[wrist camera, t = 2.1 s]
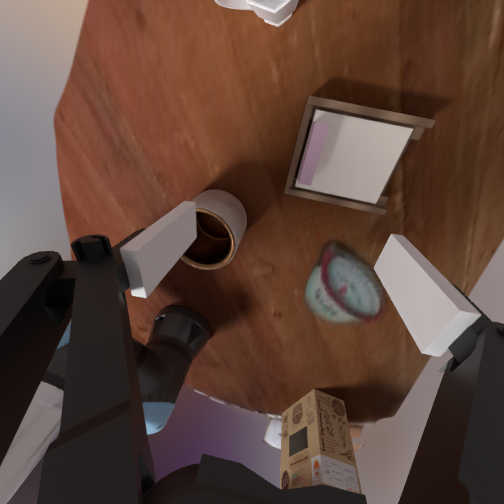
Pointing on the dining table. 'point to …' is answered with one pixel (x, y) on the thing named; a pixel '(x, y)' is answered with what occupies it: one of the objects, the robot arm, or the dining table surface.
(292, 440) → the box
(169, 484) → the robot arm
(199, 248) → the planter
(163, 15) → the dining table surface
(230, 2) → the cup
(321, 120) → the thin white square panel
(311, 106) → the pencil case
